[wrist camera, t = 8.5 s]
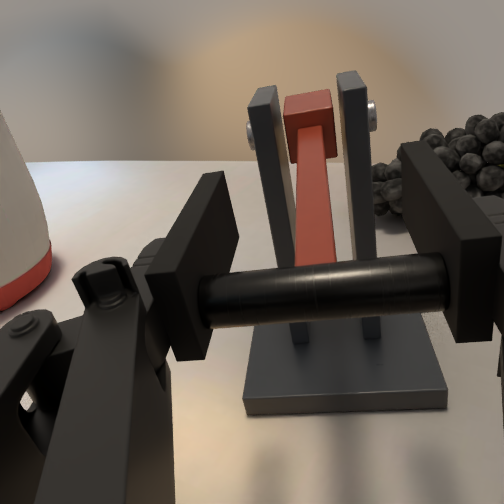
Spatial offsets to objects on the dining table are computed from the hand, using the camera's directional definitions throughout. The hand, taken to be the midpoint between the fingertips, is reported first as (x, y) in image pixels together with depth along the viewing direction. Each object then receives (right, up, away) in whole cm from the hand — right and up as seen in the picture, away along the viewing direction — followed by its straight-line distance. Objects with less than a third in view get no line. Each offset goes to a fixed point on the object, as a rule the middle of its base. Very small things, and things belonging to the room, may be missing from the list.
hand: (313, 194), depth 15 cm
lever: (0, 0, +2) cm, 2 cm away
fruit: (+14, +1, +22) cm, 26 cm away
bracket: (+3, -7, +12) cm, 14 cm away
